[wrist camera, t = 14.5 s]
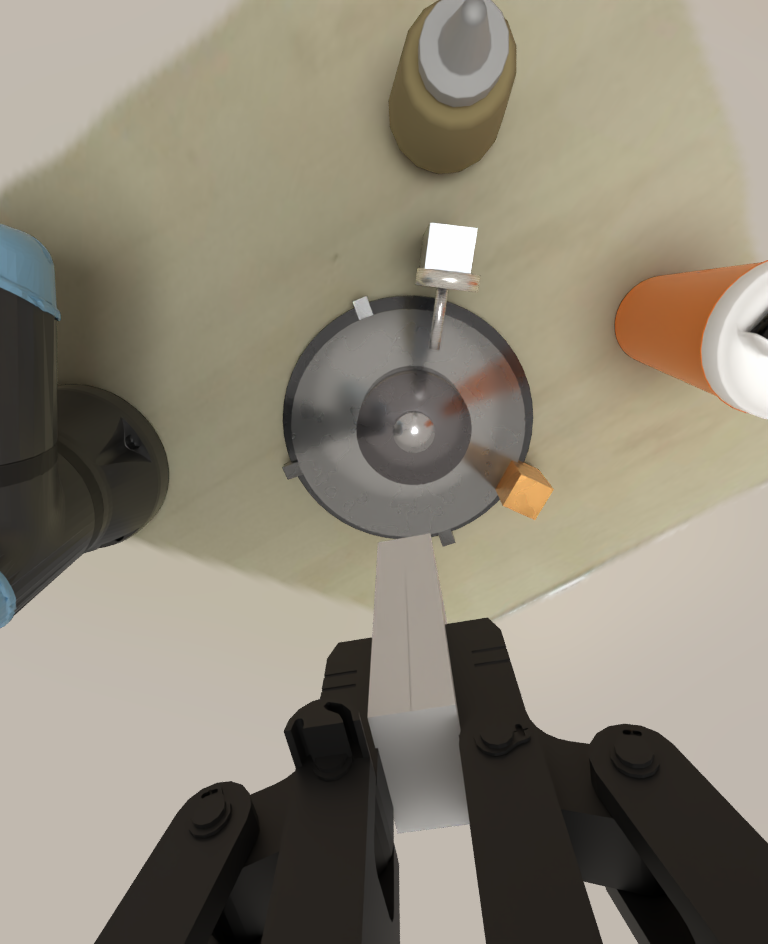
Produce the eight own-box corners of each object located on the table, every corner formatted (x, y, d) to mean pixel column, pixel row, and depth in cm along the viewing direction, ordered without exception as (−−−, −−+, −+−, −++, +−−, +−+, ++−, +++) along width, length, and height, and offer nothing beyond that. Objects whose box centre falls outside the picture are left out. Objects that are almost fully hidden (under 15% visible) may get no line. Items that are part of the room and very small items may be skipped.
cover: (435, 485, 48) (438, 505, 44) (342, 442, 47) (337, 458, 43) (484, 394, 46) (494, 406, 41) (387, 346, 44) (386, 353, 40)
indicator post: (404, 336, 47) (407, 355, 34) (417, 234, 44) (425, 215, 32) (451, 341, 47) (470, 362, 34) (466, 240, 44) (493, 224, 32)
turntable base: (259, 495, 52) (257, 499, 51) (322, 258, 45) (321, 258, 44) (477, 561, 53) (478, 566, 53) (570, 343, 46) (574, 345, 46)
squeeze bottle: (454, 33, 40) (498, -157, 22) (516, 133, 41) (599, 29, 24) (367, 113, 41) (346, -7, 24) (430, 206, 43) (452, 156, 26)
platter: (478, 571, 52) (486, 600, 48) (260, 478, 50) (246, 499, 45) (589, 383, 46) (611, 394, 42) (348, 266, 44) (342, 263, 39)
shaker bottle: (667, 391, 48) (845, 463, 29) (581, 342, 46) (708, 383, 28) (734, 296, 45) (979, 306, 26) (645, 242, 44) (834, 211, 25)
